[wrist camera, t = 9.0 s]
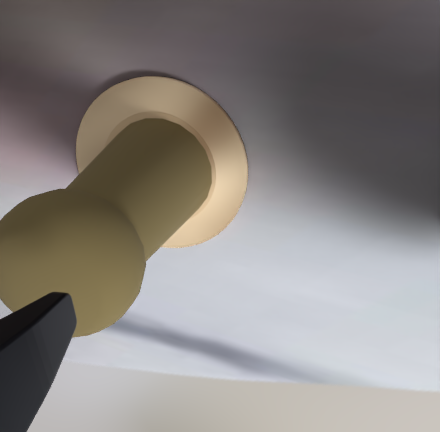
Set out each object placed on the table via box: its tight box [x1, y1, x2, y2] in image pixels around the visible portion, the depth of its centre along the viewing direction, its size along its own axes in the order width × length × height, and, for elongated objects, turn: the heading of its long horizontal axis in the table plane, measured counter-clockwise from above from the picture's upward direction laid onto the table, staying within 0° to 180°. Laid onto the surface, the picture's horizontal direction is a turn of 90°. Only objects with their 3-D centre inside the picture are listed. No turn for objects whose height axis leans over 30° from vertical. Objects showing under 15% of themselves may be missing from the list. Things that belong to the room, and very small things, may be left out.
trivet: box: [76, 76, 248, 248], centre depth 22 cm, size 10×10×1 cm
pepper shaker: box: [0, 118, 212, 338], centre depth 17 cm, size 6×6×11 cm
